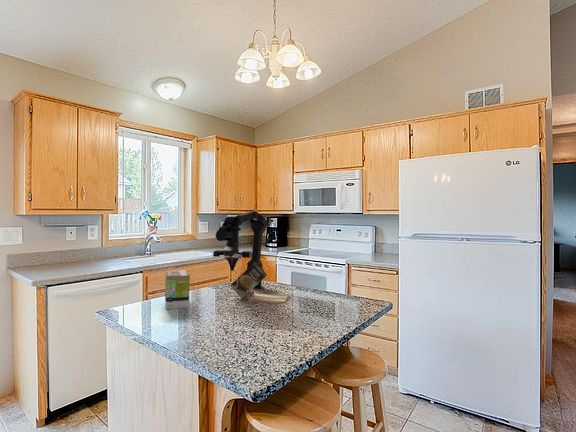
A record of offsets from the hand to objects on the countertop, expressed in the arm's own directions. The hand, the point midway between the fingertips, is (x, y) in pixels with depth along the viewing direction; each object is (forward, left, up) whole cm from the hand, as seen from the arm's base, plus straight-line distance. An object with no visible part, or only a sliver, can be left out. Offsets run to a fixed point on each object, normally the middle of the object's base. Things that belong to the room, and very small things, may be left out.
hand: (232, 270), depth 166 cm
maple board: (+1, +19, -13) cm, 23 cm away
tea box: (+18, -21, -13) cm, 30 cm away
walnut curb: (0, +9, -13) cm, 16 cm away
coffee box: (0, +3, -10) cm, 10 cm away
